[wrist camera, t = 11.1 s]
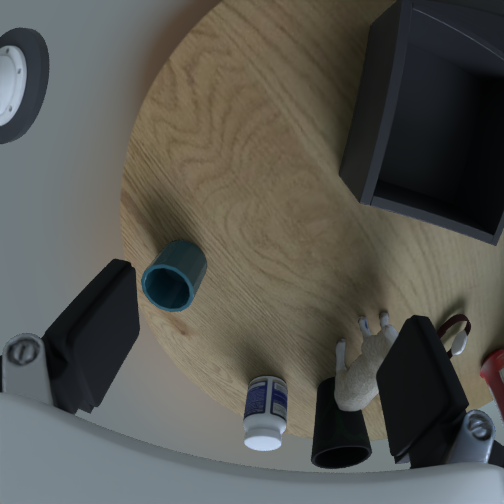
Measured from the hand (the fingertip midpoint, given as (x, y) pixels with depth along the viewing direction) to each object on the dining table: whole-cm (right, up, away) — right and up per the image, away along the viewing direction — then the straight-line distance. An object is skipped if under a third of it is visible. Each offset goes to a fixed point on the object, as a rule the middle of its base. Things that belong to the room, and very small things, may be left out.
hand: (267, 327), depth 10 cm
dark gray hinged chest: (+16, +15, +14) cm, 26 cm away
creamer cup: (-8, +1, +23) cm, 25 cm away
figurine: (+13, -7, +25) cm, 29 cm away
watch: (+26, -9, +24) cm, 37 cm away
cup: (+12, -17, +31) cm, 37 cm away
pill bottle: (+2, -17, +32) cm, 36 cm away
